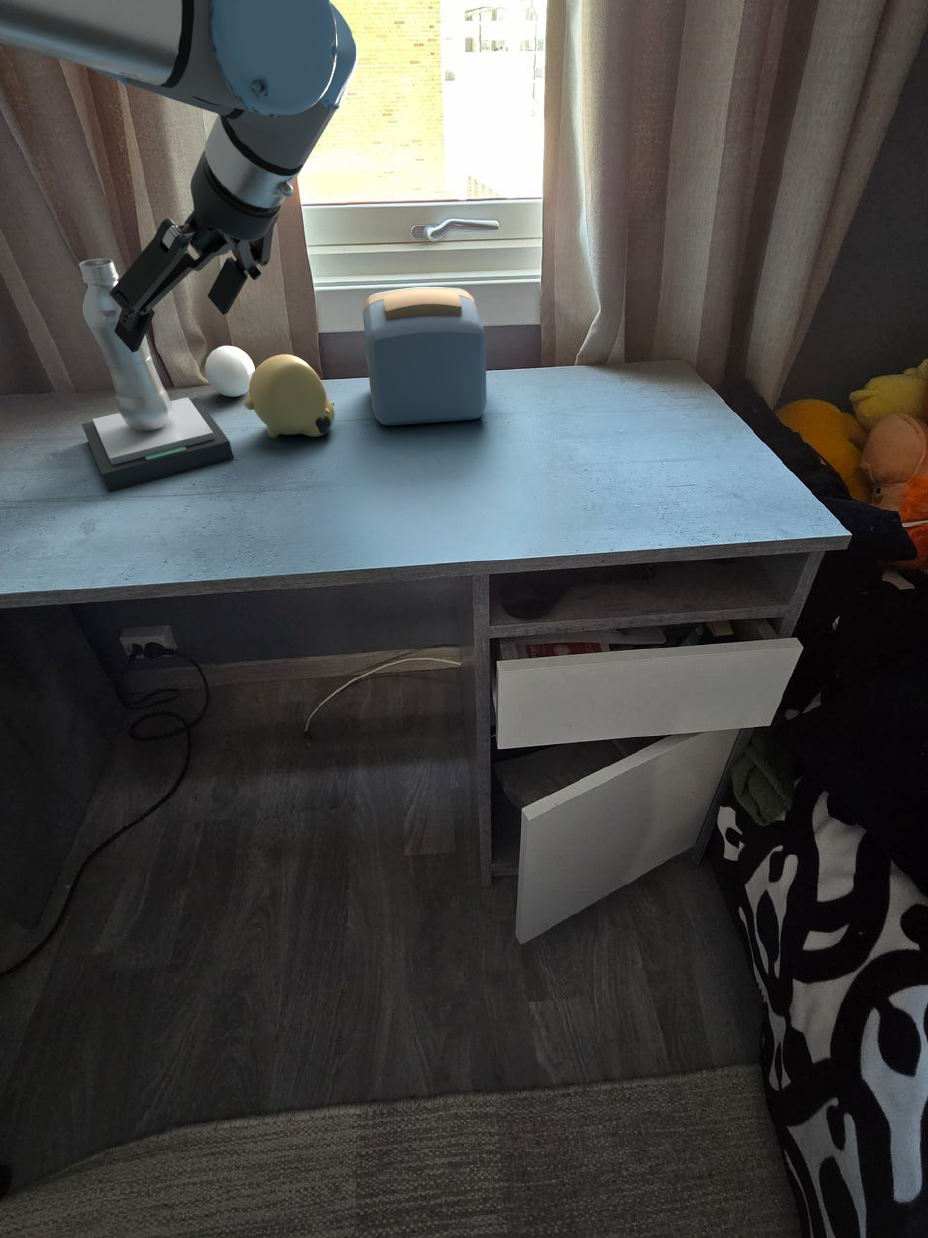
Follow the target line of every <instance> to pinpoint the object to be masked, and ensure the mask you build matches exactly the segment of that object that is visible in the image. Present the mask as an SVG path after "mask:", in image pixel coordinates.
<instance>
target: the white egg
mask: <svg viewBox="0 0 928 1238" xmlns="http://www.w3.org/2000/svg"><path fill="white" fill-rule="evenodd" d="M256 369H257V367H256V366H255V364H254V363H253V360H252V358H251V357H250V356H249V355H248V354H247V353H246V352H245V351H243V350H242V349H241V348H239V347H237V346H231V345H222V346H219V347H217V348H215V349H213V350H212V351H211V352H210V354H209V355H208V356H207V358H206V360H205V364H204V372H205V377H206V379H207V382H208V384H209V385H210V386H211V387H212V388H213V389H214V390H215V391H216V392H218V393H219V394H220V395H223V396H225V397H231V398H232V397H233V398H236V397H241V396H242V395H245V394H246V393H249V384H250V379H251V377H252V375H253V373H254V371H255V370H256Z"/></svg>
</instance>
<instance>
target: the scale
mask: <svg viewBox="0 0 928 1238" xmlns="http://www.w3.org/2000/svg"><path fill="white" fill-rule="evenodd" d="M170 401H171V403H172V410H173V415H172V418H171V421H170V422H169V423H168V424H167V425H165V426H163V427H161V428H158V429H154V430H147V431H141V430H135V429H133V428H131V427H130V426H129V425H127V424H126V423H125V421H124V420H123V418H122V416H121V414H120V413H119V412H118V413H113V414H109V415H105V416H100V417H95V418H92V421H90V422H86V423H81V427H82V429H83V431H84V434H85V437H86V439H87V442H88V444H89V447H90V449H91V451H92V454H93V456H94V457H93V458H94V459H95V461H96V465H97V467H98V470H99V472H100V474H101V476H102V479H103V481H104V483H105V486H106V489H107V492H113V491H116V490H119V489H123V488H128V487H131V486H135V485H139V484H143V483H145V482H150V481H153V480H157V479H160V478H164V477H168V476H172V475H176V474H180V473H183V472H187V471H190V470H195V469H198V468H202V467H205V466H209V465H213V464H217V463H220V462H224V461H228V460H232V459H234V458H235V457H234V452H233V449H232V445H231V441H230V440H229V438H228V437H227V435H226V434H225V433H224V431H223V430H222V428H220V426H219V425H218V423H217V422H216V421H215V420H214V419H215V418H213V416H212V415H211V414H210V412H209V410H208V409H207V408H206V407H205V406H204V404H203V403H202V402H201V400H200V399H199V397H195V398H189V397H188V396H187V397H184V398H183V397H182V398H179V399H174V400H170Z"/></svg>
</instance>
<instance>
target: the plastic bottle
mask: <svg viewBox="0 0 928 1238" xmlns="http://www.w3.org/2000/svg"><path fill="white" fill-rule="evenodd" d="M78 265H79V269H80V273H81V275H82V280H83V282H84V283H85V284H87V289H86V292H85V295H84V298H83V303H82V315H83V317H84V320H85V322H86V324H87V326H88V328H89V329H90V331H91V333H92V335H93V337H94V339H95V341H96V343H97V345H98V347H99V349H100V351H101V354H102V356H103V358H104V360H105V364H106V366H107V368H108V371H109V374H110V377H111V381H112V384H113V388H114V392H115V398H116V404H117V409H118V413H120V414H121V416H122V418H123V420H124V421H125V423H126V424H127V425H129V426H130V427H131V428H133V429H135V430H141V431H147V430H154V429H158V428H161V427H163V426H165V425H167V424H168V423H169V422H170V421H171V418H172V415H173V410H172V403H171V401H172V400H171V399H170V396H169V394H168V392H167V391H166V389H165V387H164V385H163V384H162V381H161V379H160V376H159V373H158V371H157V369H156V367H155V364H154V362H153V357H152V354H151V353H150V352H151V350H150V347H149V343H148V340H147V335H146V334H147V333H146V334H145V336H144V339H143V341H142V343H141V345H140V348H139V350H138V351H136V352H133V353H132V352H131V350H130V349H129V348H128V347H127V346H126V345H125V344H124V342H123V341H122V340H121V339H120V338H119V337H118V336H117V334H116V333H115V332H114V331H115V328H116V326H117V323H118V321H119V315H120V313H121V310H122V308H121V307H120V306H119V305H118V304H117V303H116V301H115V300H114V299H113V298H112V297H111V296H110V291H111V290H112V289H113V287H114V286H115V285H116V284H117V283H118V281H119V278H120V277H119V273H118V272H117V270H116V265H115V264H114V262H113V259H111V258H106V257H105V258H101V257H100V258H99V257H98V258H91V259H87V260H83V261H81V262H79V264H78Z"/></svg>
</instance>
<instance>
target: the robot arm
mask: <svg viewBox="0 0 928 1238" xmlns="http://www.w3.org/2000/svg"><path fill="white" fill-rule="evenodd" d="M0 44H1V45H5V46H7V47H8V46H9V47H11V48H16V49H19V50H24V51H26V52H31V53H35V54H38V55H42V56H46V57H50V58H53V59H57V60H61V61H65V62H68V63H72V64H76V65H79V66H83V67H87V68H89V69H91V70H92V71H93V72H94V71H95V72H97V73H99V74H101V75H104V76H107V77H110V78H112V79H114V80H116V81H119V82H121V84H122V85H124V86H125V87H131V86H133V87H136V88H139V89H142V90H143V91H148V92H151V93H153V94H156V95H159V96H162V97H165V98H167V99H171V100H174V101H176V102H180V103H182V104H185V105H186V104H187V105H189V106H192V107H195V108H199V109H202V110H204V111H208V112H211V113H214V114H217V116H216V118H215V121H214V123H213V125H212V128H211V129H210V133H209V135H208V137H207V138H206V142H205V143H204V149H203V151H202V153H201V155H200V158H199V160H198V163H197V165H196V167H195V170H194V171H193V174H192V177H191V180H190V194H191V198H192V202H193V203H192V204H193V210H192V211H191V213H190V214H189V215H188V216H187V218H186V219H185V220H184V223H183V224H181V225H177V224H176V223H175V222H174V221H173V220H172V219H171V218H170V217H167V218H165V219H164V220H162V221H161V223H160V224H159V227H158V228H157V230H156V232H155V234H154V237H153V238H152V239H151V240H150V241H149V243H148V244H147V245H146V247H145V248H144V249H143V250H142V251H141V252H140V254H139V256H137V258H136V259H135V260H134V262H133V263H132V264H131V265H130V266H129V268H128V269H127V270H126V271H125V272H124V274H123V275H122V276H121V278H120V279H118V280H117V281H118V283H117V284H116V285H115V286H114V287H113V289H112V290H111V291H110V296H111V297H112V298H113V299H114V300H115V301H116V303H117V304H118V305H119V306H120V307H121V308H122V310H121V313H120V315H119V321H118V323H117V326H116V328H115V331H114V332H115V333H116V334H117V336H118V337H119V338H120V339H121V340H122V341H123V342H124V344H125V345H126V346H127V347H128V348H129V349H130V350H131V352H132V353H133V352H136V351H138V350H139V348H140V345H141V343H142V341H143V339H144V336H145V334H147V331H148V330H149V327H150V326H151V322H152V320H153V318H154V316H155V314H156V312H155V310H154V307H155V306H156V305H157V304H159V303H160V302H161V300H163V299H164V298H165V297H166V296H167V295H168V294H169V293H170V292H172V290H174V288H176V287H177V285H178V284H180V283H181V282H182V281H183V280H184V279H185V278H186V277H188V275H189V274H191V272H193V271H195V272H200V271H202V270H203V269H204V268H205V267H206V266H207V265H209V263H210V262H212V260H214V258H216V257H220V256H224V255H227V254H228V253H229V252H230V251H231V253H232V256H230V257H227V258H226V259H225V261H224V262H223V265H222V267H221V269H220V270H219V273H218V274H217V276H216V279H215V280H214V283H213V284H212V285H211V288H210V290H209V292H208V294H207V298H208V299H209V300H210V301H211V302H212V304H213V305H214V306H215V307H216V308H217V310H218V311H219V312H220V313H221V314H222V315H223V316H224V315H227V314H228V313H229V312H230V310H231V309H232V306H233V305H234V303H235V301H236V300H237V298H238V295H239V294H240V293H241V291H242V289H243V288H244V286H245V283H246V282H247V280H248V278H249V277H250V278H251V279H252V280H253V281H256V280H258V279H259V278H260V277H261V276H262V271H260V270H259V268H258V267H257V266H258V265H260V266H261V267H265V266H267V265H268V264H269V262H270V260H271V254H272V253H271V252H272V243H273V236H274V235H273V234H274V228H275V225H276V223H277V222H278V219H279V217H280V213H279V212H280V209H281V206H282V204H283V203H284V202H285V199H286V198H290V197H291V196H292V195H293V194H294V188H293V185H294V183H295V182H296V180H297V178H298V177H299V175H300V172H301V171H302V169H303V168H304V166H305V164H306V162H307V161H308V159H309V157H310V155H311V154H312V152H313V150H314V149H315V147H316V145H317V143H318V142H319V140H320V138H321V137H322V135H323V134H324V131H325V130H326V128H327V126H328V125H329V123H330V121H331V120H332V118H333V116H334V114H335V113H336V112H337V111H338V110H339V109H340V107H341V103H342V99H343V97H344V96H345V94H346V91H347V90H348V88H349V86H350V84H351V81H352V78H353V76H354V73H355V71H356V68H357V64H358V58H359V54H358V53H359V52H358V46H357V43H356V41H355V39H354V36H353V32H352V29H351V27H350V26H349V24H348V22H347V20H346V19H345V17H344V16H343V15H342V13H341V12H340V10H339V9H338V8H337V7H336V6H335V5H334V4H333V2H331V0H0ZM189 246H190V247H191V248H192V249H193V251H194V252H195V253H196V254H197V256H198V257H197V258H196V259H195V257H194V256H193V255H192V253H191V252H190V251H189V249H188V248H189ZM233 257H234V258H235V259H234V258H233ZM248 275H249V276H248Z"/></svg>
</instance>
